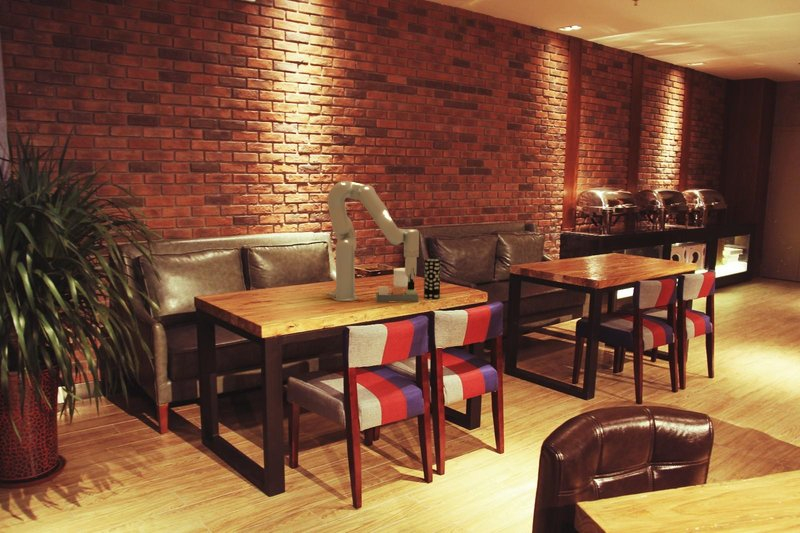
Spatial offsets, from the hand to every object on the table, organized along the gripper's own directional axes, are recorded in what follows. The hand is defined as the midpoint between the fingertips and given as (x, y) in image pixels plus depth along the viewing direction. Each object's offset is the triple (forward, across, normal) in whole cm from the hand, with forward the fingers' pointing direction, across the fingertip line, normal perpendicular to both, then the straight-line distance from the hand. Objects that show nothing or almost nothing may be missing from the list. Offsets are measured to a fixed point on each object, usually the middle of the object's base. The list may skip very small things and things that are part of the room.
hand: (410, 289), depth 329 cm
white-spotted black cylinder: (+6, -6, +12) cm, 15 cm away
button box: (+6, 0, -7) cm, 9 cm away
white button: (+4, 0, -14) cm, 15 cm away
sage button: (+5, 0, 0) cm, 5 cm away
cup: (+6, -40, 0) cm, 40 cm away
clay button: (+4, 0, -7) cm, 8 cm away
